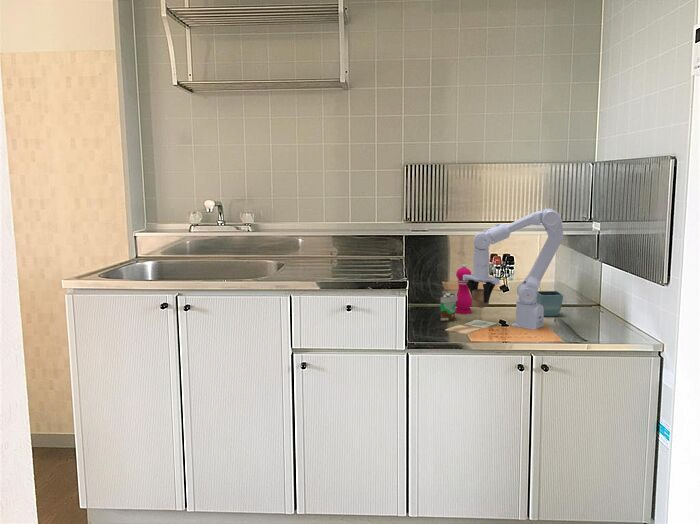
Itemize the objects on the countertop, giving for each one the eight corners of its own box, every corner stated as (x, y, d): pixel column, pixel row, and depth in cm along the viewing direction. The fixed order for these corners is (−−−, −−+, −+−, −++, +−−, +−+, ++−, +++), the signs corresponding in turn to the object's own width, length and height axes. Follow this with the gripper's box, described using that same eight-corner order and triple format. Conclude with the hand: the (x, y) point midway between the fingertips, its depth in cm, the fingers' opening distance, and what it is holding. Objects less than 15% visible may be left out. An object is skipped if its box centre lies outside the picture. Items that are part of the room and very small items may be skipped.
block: (488, 305, 238) (489, 290, 237) (482, 307, 234) (482, 292, 233) (478, 304, 241) (478, 288, 240) (471, 306, 237) (472, 290, 236)
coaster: (480, 330, 230) (480, 328, 230) (466, 335, 224) (466, 333, 224) (458, 326, 236) (458, 324, 236) (445, 331, 230) (445, 329, 230)
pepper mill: (451, 311, 260) (452, 263, 257) (468, 310, 262) (469, 262, 259) (457, 315, 253) (458, 265, 250) (475, 314, 255) (475, 265, 252)
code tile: (496, 323, 239) (496, 323, 239) (484, 328, 232) (484, 327, 232) (476, 320, 245) (476, 319, 245) (463, 324, 238) (463, 324, 238)
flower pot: (534, 312, 256) (535, 290, 255) (556, 312, 256) (557, 290, 255) (540, 317, 248) (540, 295, 246) (562, 317, 247) (563, 295, 246)
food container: (456, 323, 240) (457, 297, 239) (440, 323, 241) (440, 297, 240) (458, 316, 252) (458, 291, 250) (442, 315, 253) (442, 291, 252)
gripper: (458, 264, 237) (458, 300, 239) (493, 268, 227) (492, 305, 230) (468, 262, 242) (468, 297, 244) (502, 266, 233) (502, 302, 235)
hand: (480, 301), depth 237 cm, fingers closed on block, 4 cm apart
